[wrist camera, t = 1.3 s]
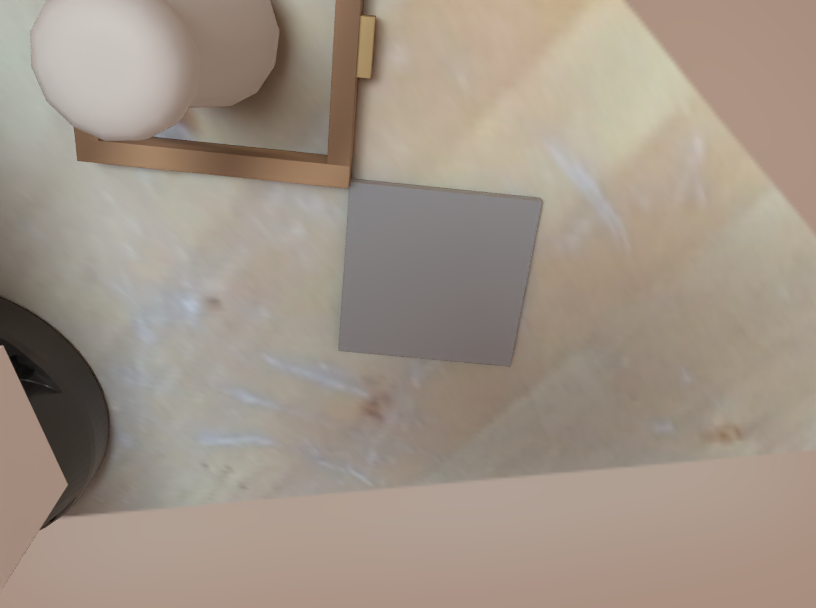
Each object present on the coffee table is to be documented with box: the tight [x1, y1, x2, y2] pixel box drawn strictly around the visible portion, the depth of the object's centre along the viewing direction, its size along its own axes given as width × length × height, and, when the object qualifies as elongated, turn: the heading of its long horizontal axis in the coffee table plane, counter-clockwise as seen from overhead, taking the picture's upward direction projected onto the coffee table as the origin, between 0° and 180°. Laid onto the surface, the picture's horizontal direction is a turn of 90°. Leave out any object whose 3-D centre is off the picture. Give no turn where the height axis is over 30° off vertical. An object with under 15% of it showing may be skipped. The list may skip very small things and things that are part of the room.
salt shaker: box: [30, 0, 279, 141], centre depth 24 cm, size 6×6×13 cm
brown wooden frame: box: [74, 0, 376, 188], centre depth 29 cm, size 13×12×2 cm
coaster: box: [338, 179, 542, 367], centre depth 35 cm, size 9×9×1 cm
